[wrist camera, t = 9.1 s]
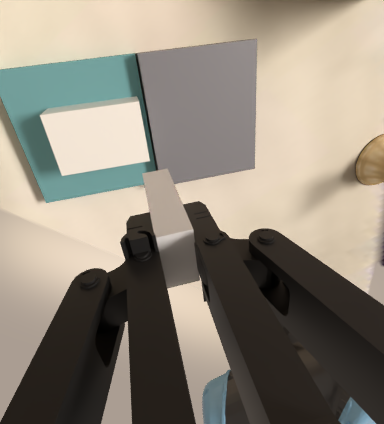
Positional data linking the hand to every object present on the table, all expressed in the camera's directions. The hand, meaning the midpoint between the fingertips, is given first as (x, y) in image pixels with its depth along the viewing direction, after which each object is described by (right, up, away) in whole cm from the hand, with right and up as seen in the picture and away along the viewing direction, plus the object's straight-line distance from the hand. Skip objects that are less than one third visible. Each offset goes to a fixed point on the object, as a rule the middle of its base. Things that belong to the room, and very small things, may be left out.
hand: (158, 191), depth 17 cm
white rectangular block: (-8, +8, +14) cm, 18 cm away
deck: (+3, +10, +17) cm, 20 cm away
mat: (-10, +8, +15) cm, 19 cm away
